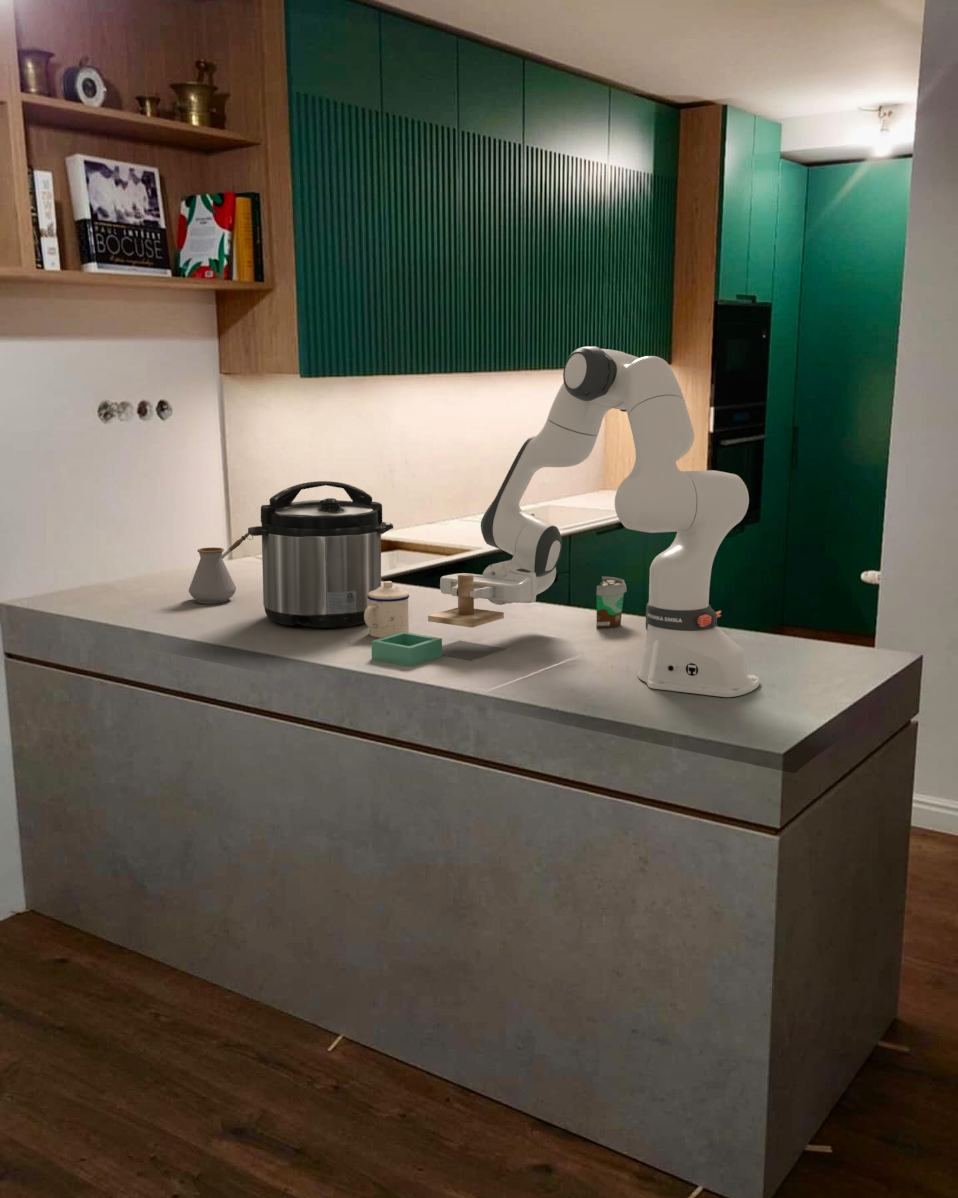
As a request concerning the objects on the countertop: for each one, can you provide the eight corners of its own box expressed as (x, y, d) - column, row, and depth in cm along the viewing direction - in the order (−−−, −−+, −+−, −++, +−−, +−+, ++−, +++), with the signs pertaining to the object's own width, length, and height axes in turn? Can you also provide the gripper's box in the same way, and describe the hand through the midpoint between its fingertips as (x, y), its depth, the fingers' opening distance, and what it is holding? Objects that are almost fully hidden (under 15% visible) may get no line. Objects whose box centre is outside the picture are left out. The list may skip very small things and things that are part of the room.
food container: (623, 631, 261) (624, 587, 259) (595, 630, 263) (596, 586, 261) (628, 619, 273) (629, 576, 271) (601, 618, 274) (602, 575, 272)
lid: (503, 618, 243) (503, 573, 241) (472, 627, 234) (471, 581, 232) (460, 612, 249) (460, 569, 247) (428, 621, 240) (427, 576, 239)
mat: (505, 650, 245) (505, 648, 245) (471, 662, 235) (471, 660, 235) (459, 642, 252) (459, 640, 252) (424, 653, 242) (424, 651, 242)
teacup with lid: (386, 627, 265) (386, 576, 263) (418, 633, 260) (417, 580, 258) (350, 637, 256) (348, 584, 253) (381, 643, 251) (380, 589, 248)
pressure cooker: (403, 608, 285) (401, 476, 279) (369, 635, 258) (366, 489, 252) (285, 602, 291) (280, 473, 285) (239, 628, 264) (233, 486, 258)
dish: (442, 657, 239) (441, 638, 238) (410, 668, 231) (410, 648, 230) (403, 650, 245) (403, 631, 244) (371, 660, 237) (371, 641, 236)
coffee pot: (216, 607, 286) (213, 545, 283) (179, 602, 291) (176, 542, 288) (270, 591, 305) (268, 533, 302) (234, 587, 310) (232, 530, 307)
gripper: (462, 564, 256) (422, 573, 245) (542, 572, 244) (504, 582, 233) (462, 593, 257) (423, 603, 246) (542, 602, 246) (504, 614, 235)
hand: (463, 593), depth 240 cm, fingers closed on lid, 3 cm apart
